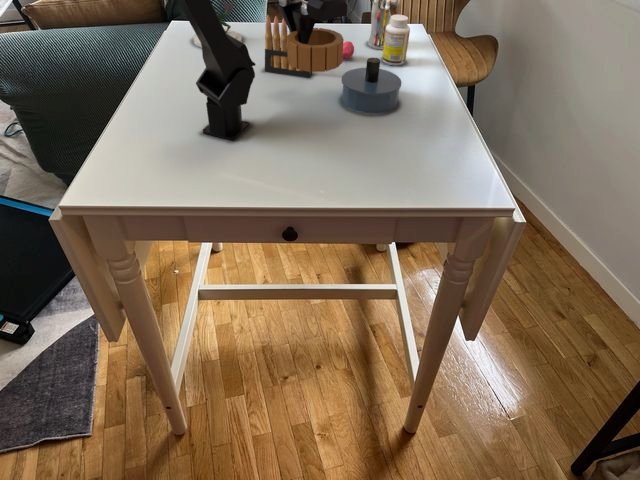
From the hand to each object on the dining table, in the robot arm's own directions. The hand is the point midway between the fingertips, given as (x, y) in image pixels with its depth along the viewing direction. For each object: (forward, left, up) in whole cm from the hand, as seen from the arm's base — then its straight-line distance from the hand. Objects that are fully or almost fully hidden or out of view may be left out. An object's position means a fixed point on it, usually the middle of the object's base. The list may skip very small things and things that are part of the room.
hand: (301, 45), depth 90 cm
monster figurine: (+23, +33, -12) cm, 42 cm away
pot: (+7, -12, -12) cm, 19 cm away
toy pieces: (+28, +4, -12) cm, 31 cm away
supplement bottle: (+30, -11, -12) cm, 35 cm away
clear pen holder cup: (+39, -5, -12) cm, 41 cm away
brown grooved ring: (-2, -4, -2) cm, 4 cm away
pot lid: (+7, -12, -8) cm, 16 cm away
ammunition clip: (+13, +9, -12) cm, 20 cm away
